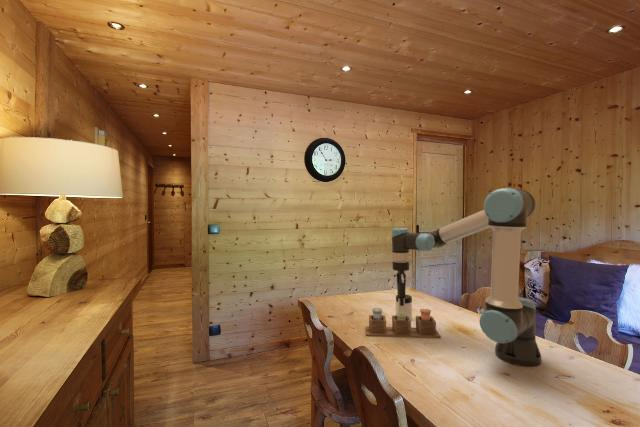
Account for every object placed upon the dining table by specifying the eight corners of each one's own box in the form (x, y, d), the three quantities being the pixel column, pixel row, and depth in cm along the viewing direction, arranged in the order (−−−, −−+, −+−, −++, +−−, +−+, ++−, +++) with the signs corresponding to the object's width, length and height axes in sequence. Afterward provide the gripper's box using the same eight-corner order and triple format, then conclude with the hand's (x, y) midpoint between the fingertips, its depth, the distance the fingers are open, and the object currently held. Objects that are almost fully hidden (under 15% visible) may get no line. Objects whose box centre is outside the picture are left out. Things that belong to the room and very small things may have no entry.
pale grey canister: (382, 325, 147) (382, 311, 147) (372, 325, 148) (372, 310, 147) (381, 322, 152) (381, 307, 151) (372, 321, 152) (372, 307, 152)
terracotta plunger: (431, 326, 145) (431, 312, 144) (421, 326, 145) (421, 311, 145) (429, 323, 149) (429, 308, 149) (419, 323, 150) (419, 308, 150)
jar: (415, 319, 166) (415, 296, 166) (406, 323, 161) (406, 299, 161) (401, 315, 173) (401, 293, 173) (392, 318, 168) (392, 296, 168)
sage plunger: (407, 331, 146) (407, 316, 146) (396, 330, 146) (396, 316, 146) (405, 327, 150) (405, 312, 150) (395, 327, 151) (395, 312, 151)
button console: (440, 338, 142) (440, 323, 141) (366, 336, 145) (365, 321, 145) (435, 329, 152) (435, 315, 151) (365, 327, 155) (365, 314, 155)
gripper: (411, 263, 141) (412, 316, 141) (406, 259, 154) (407, 307, 154) (394, 263, 142) (395, 316, 142) (390, 259, 155) (391, 307, 155)
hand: (401, 311), depth 148 cm, fingers closed
